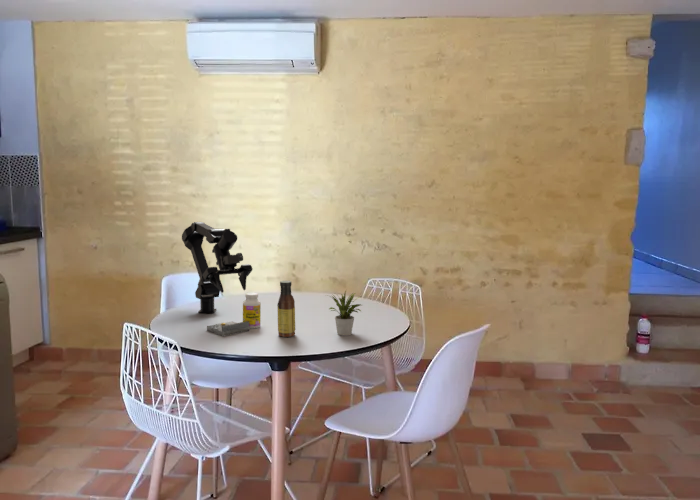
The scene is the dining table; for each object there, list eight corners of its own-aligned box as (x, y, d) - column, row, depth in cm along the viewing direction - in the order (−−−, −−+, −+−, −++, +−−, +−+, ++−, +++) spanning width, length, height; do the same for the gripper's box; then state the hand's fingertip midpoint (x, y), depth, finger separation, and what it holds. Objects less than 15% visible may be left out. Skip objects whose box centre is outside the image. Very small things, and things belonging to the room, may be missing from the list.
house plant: (327, 340, 190) (327, 294, 188) (318, 330, 203) (318, 287, 201) (365, 338, 194) (366, 293, 192) (354, 328, 207) (355, 286, 205)
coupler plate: (207, 330, 201) (206, 320, 200) (232, 325, 208) (232, 316, 208) (223, 336, 193) (223, 326, 193) (249, 330, 201) (249, 321, 200)
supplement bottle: (243, 329, 203) (243, 295, 201) (242, 325, 209) (242, 292, 207) (261, 328, 204) (261, 295, 203) (259, 324, 211) (259, 291, 209)
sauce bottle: (286, 332, 200) (287, 279, 198) (298, 335, 196) (299, 281, 194) (273, 335, 195) (273, 281, 193) (285, 338, 191) (286, 283, 189)
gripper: (207, 246, 204) (218, 283, 198) (252, 244, 215) (263, 278, 209) (198, 262, 212) (208, 297, 205) (242, 259, 223) (252, 292, 217)
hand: (234, 291), depth 209 cm, fingers open, 9 cm apart
